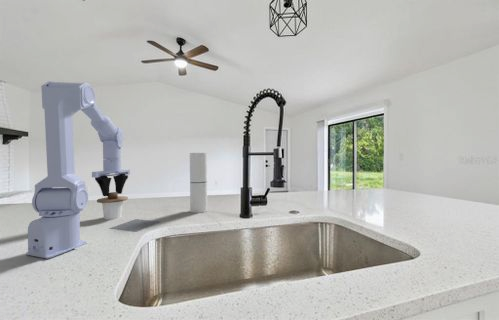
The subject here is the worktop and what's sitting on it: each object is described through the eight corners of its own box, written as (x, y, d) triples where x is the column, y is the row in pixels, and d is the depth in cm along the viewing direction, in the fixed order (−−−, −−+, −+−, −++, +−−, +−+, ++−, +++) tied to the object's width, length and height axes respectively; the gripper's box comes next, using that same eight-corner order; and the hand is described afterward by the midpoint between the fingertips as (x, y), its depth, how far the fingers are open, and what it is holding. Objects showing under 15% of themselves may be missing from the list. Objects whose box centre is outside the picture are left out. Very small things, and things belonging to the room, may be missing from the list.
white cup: (98, 219, 82) (97, 200, 82) (116, 215, 88) (116, 197, 88) (108, 221, 79) (108, 202, 79) (127, 217, 85) (126, 199, 85)
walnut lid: (111, 203, 77) (110, 195, 77) (90, 202, 80) (90, 194, 80) (133, 198, 87) (133, 191, 87) (114, 197, 90) (114, 190, 90)
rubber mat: (136, 232, 67) (136, 231, 67) (109, 229, 71) (109, 228, 71) (160, 222, 78) (160, 221, 78) (136, 220, 81) (136, 219, 81)
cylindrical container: (186, 212, 92) (186, 152, 92) (195, 208, 99) (195, 153, 98) (202, 213, 90) (201, 152, 90) (210, 209, 97) (209, 153, 96)
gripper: (102, 159, 75) (102, 198, 76) (135, 159, 89) (136, 192, 89) (87, 159, 77) (87, 197, 78) (122, 159, 91) (122, 191, 92)
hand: (112, 194), depth 84 cm, fingers open, 5 cm apart
